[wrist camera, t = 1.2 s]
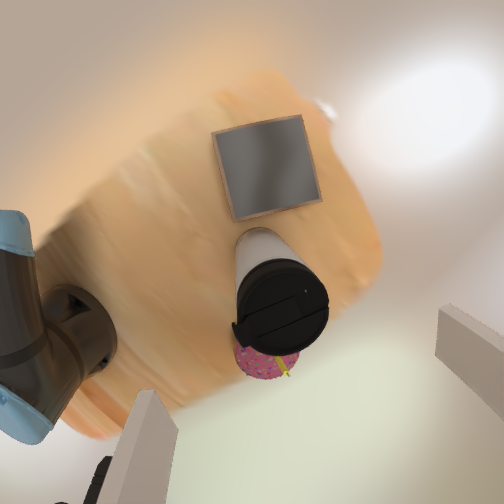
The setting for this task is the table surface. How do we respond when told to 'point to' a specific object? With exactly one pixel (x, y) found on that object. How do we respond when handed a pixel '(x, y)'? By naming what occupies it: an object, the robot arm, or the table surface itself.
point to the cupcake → (263, 362)
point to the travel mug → (276, 296)
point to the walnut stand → (266, 167)
